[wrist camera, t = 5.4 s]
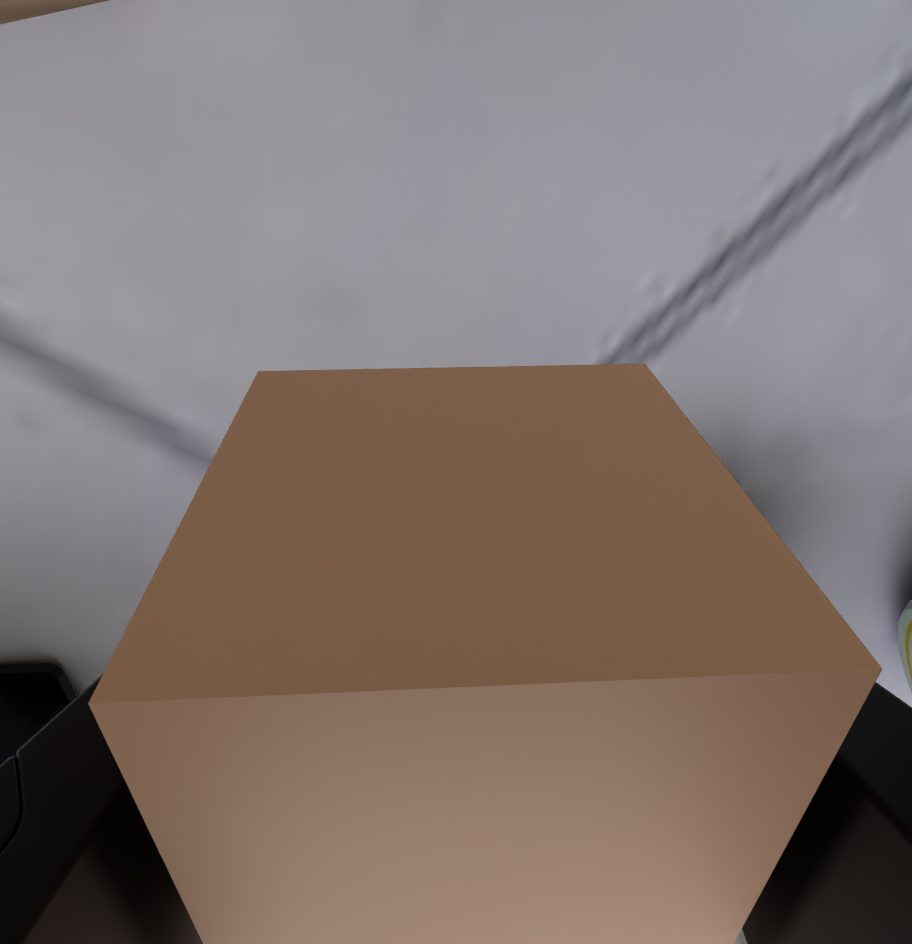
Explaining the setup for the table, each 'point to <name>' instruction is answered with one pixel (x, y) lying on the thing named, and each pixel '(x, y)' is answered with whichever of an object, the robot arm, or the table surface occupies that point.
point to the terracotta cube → (475, 669)
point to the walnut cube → (36, 8)
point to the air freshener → (906, 641)
